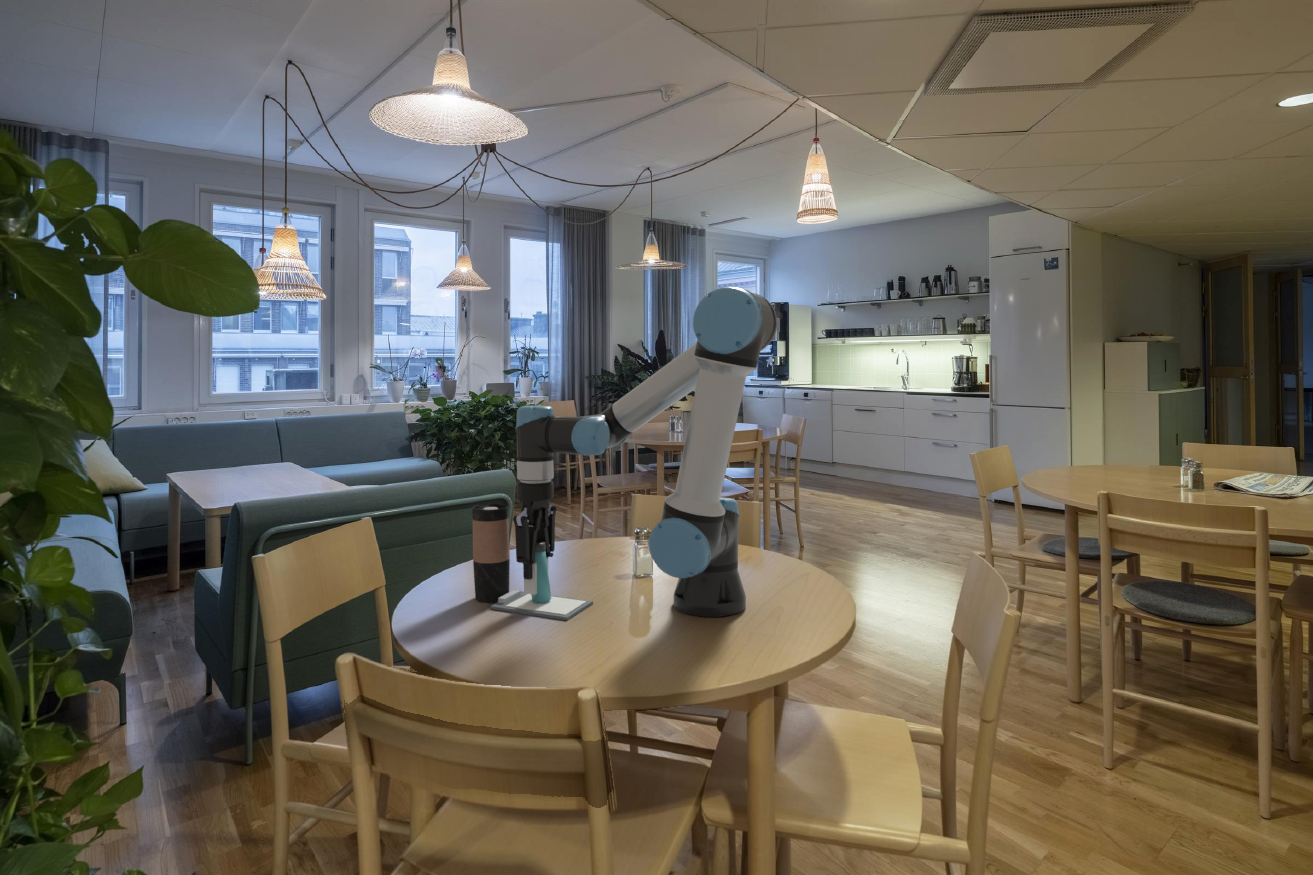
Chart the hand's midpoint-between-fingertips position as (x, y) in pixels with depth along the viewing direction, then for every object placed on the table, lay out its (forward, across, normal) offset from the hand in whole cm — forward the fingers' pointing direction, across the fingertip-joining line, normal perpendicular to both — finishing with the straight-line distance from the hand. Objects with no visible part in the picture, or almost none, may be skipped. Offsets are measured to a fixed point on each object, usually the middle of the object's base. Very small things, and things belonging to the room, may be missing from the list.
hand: (536, 590), depth 154 cm
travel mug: (+3, 0, -11) cm, 11 cm away
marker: (+2, 0, +1) cm, 2 cm away
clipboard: (+3, +1, +2) cm, 4 cm away
